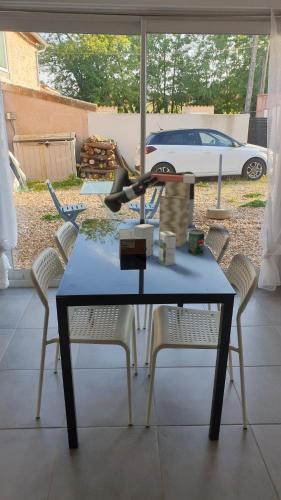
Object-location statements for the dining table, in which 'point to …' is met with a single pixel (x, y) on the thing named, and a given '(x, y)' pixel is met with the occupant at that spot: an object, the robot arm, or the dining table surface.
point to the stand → (175, 211)
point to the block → (175, 178)
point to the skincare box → (146, 236)
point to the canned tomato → (196, 242)
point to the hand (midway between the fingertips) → (159, 177)
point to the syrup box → (167, 248)
